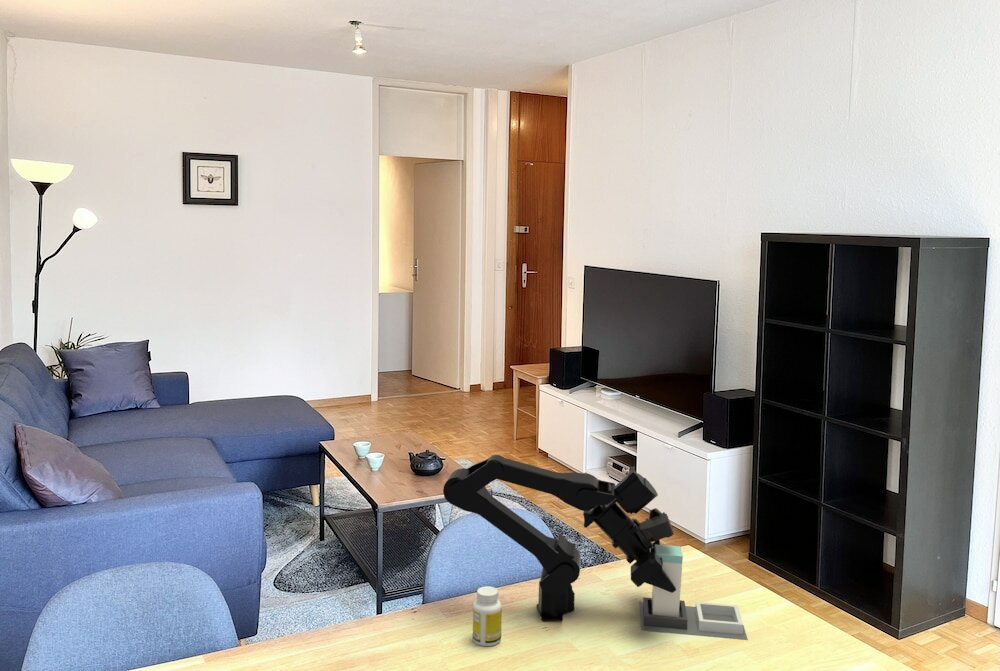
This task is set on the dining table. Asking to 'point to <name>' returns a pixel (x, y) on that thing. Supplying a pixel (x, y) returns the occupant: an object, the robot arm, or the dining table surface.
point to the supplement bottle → (487, 617)
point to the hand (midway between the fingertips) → (673, 584)
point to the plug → (672, 565)
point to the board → (696, 620)
